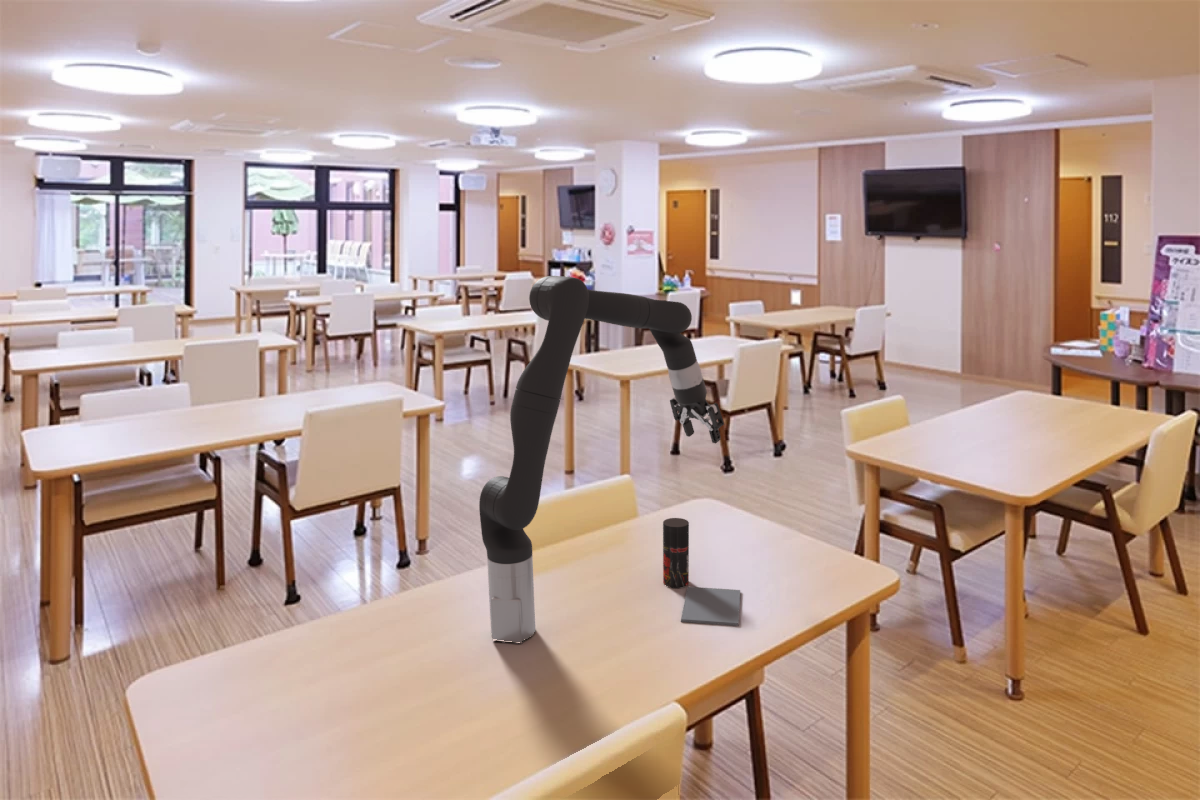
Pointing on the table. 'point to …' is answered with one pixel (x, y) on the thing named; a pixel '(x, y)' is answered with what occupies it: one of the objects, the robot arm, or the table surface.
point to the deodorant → (676, 552)
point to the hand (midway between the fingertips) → (703, 438)
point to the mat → (711, 606)
